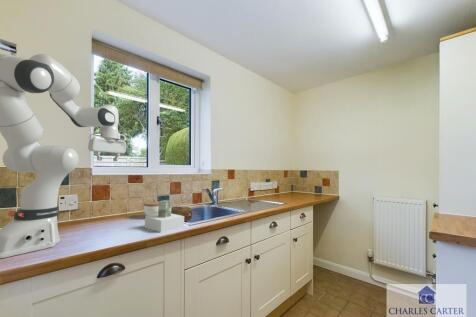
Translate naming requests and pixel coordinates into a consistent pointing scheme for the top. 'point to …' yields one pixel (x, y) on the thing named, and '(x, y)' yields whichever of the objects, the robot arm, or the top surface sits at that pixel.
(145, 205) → the lidded bowl
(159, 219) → the white square box
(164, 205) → the sage block
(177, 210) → the brown rounded slab
